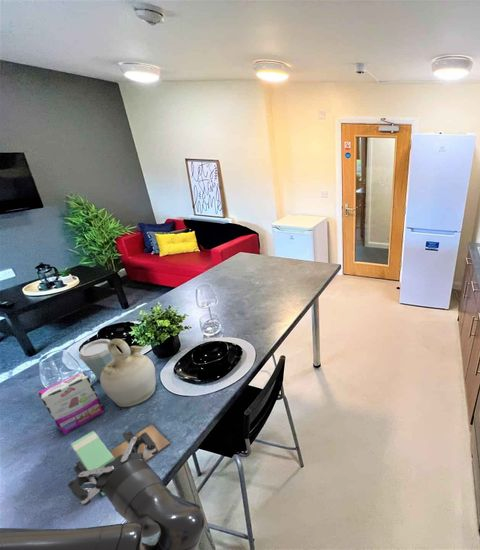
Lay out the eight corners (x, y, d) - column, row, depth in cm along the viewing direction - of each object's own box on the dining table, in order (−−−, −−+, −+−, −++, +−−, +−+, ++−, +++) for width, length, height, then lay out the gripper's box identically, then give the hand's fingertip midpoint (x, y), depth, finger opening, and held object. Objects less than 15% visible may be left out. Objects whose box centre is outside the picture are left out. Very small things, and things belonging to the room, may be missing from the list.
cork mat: (125, 476, 82) (125, 475, 82) (108, 453, 88) (107, 452, 88) (170, 443, 92) (169, 442, 92) (151, 424, 97) (151, 424, 97)
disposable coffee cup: (129, 375, 117) (117, 345, 111) (94, 390, 109) (79, 359, 103) (121, 363, 123) (109, 334, 117) (88, 377, 115) (73, 346, 109)
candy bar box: (100, 405, 104) (83, 370, 97) (105, 412, 101) (89, 376, 94) (57, 428, 95) (36, 391, 88) (62, 436, 93) (40, 398, 86)
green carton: (102, 496, 78) (89, 473, 74) (83, 466, 84) (70, 443, 80) (125, 479, 82) (114, 456, 77) (104, 452, 88) (93, 430, 84)
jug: (147, 373, 118) (129, 322, 108) (168, 389, 112) (151, 336, 101) (101, 398, 106) (76, 343, 96) (122, 418, 99) (97, 361, 89)
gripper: (167, 448, 63) (133, 415, 71) (84, 511, 52) (54, 464, 60) (176, 470, 66) (142, 436, 74) (99, 534, 55) (68, 486, 63)
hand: (103, 449), depth 67 cm, fingers open, 8 cm apart
